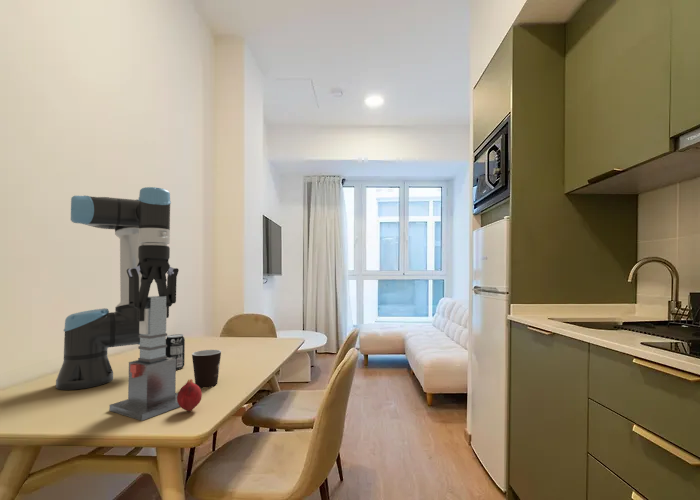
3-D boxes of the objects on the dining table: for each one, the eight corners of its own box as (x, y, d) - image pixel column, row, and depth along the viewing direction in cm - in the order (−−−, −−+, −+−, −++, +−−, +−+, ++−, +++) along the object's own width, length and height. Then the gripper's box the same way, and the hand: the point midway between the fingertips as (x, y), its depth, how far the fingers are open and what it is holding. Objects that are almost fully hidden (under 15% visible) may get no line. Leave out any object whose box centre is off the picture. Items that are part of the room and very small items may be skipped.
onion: (200, 414, 92) (200, 381, 92) (175, 417, 90) (175, 383, 91) (202, 406, 98) (202, 375, 98) (178, 408, 96) (179, 377, 96)
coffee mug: (211, 389, 111) (211, 356, 112) (185, 388, 113) (185, 355, 113) (231, 378, 123) (231, 348, 123) (207, 377, 124) (207, 347, 125)
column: (137, 381, 97) (139, 297, 99) (155, 376, 102) (156, 295, 103) (149, 383, 95) (150, 297, 96) (166, 378, 99) (167, 296, 100)
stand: (109, 410, 95) (110, 363, 96) (160, 394, 107) (160, 352, 108) (141, 420, 88) (142, 369, 89) (192, 402, 101) (192, 357, 101)
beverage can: (171, 365, 141) (172, 334, 141) (188, 366, 140) (188, 334, 140) (160, 370, 134) (161, 337, 135) (177, 370, 133) (177, 337, 134)
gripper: (129, 242, 91) (128, 338, 90) (191, 246, 106) (190, 328, 105) (112, 244, 95) (110, 336, 93) (174, 247, 110) (173, 326, 108)
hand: (153, 331), depth 99 cm, fingers closed on column, 4 cm apart
